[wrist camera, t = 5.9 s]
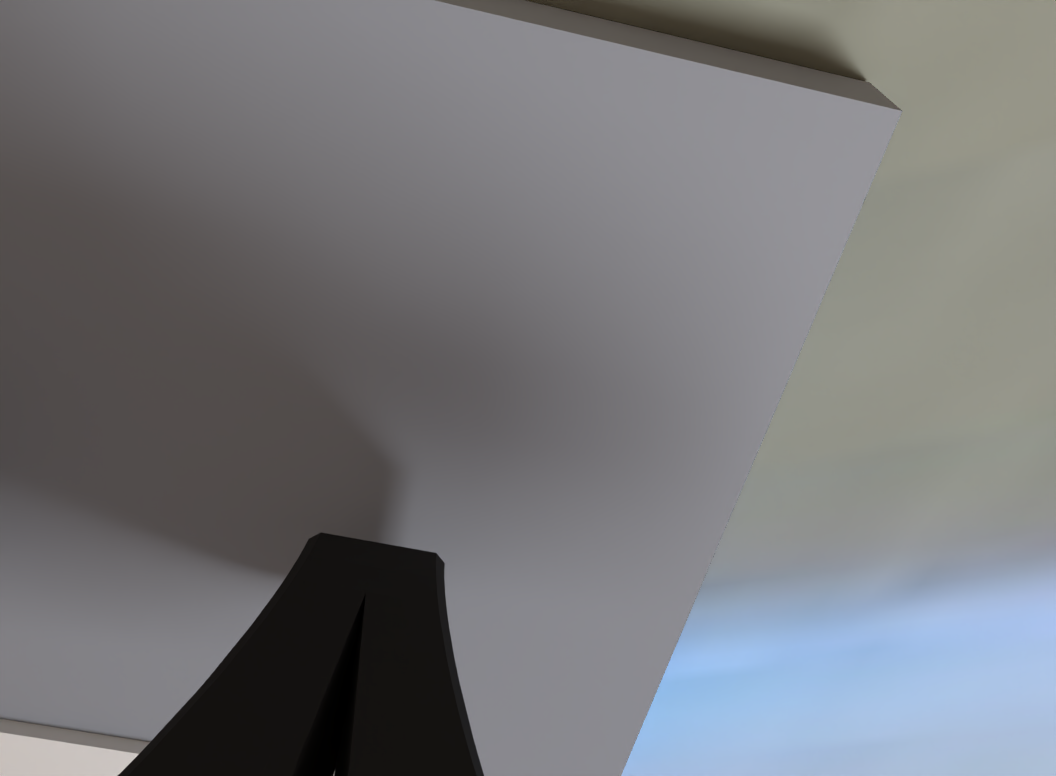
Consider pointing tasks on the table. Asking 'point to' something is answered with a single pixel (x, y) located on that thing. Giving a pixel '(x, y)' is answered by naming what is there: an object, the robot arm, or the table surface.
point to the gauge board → (390, 340)
